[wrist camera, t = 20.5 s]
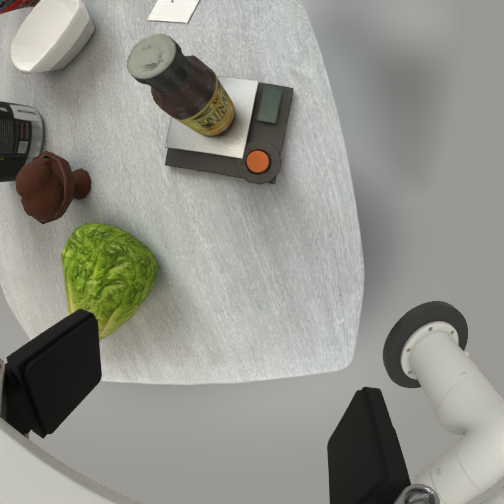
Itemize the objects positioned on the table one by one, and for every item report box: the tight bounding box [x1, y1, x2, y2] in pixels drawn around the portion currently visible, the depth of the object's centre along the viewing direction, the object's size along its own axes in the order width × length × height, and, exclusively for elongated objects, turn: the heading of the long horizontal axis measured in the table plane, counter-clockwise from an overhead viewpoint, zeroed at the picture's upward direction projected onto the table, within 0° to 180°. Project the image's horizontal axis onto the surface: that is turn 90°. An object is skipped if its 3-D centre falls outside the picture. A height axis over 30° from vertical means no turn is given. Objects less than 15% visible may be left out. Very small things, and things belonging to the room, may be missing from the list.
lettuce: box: [61, 223, 159, 341], centre depth 42 cm, size 14×24×15 cm
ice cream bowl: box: [16, 151, 91, 224], centre depth 37 cm, size 11×11×15 cm
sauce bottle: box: [127, 34, 235, 136], centre depth 26 cm, size 7×6×20 cm
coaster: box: [147, 0, 199, 23], centre depth 34 cm, size 8×8×1 cm
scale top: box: [165, 76, 282, 159], centre depth 36 cm, size 14×11×1 cm
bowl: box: [11, 0, 95, 74], centre depth 33 cm, size 18×18×9 cm
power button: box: [246, 151, 269, 173], centre depth 37 cm, size 3×3×2 cm
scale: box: [165, 83, 293, 184], centre depth 38 cm, size 16×14×3 cm
